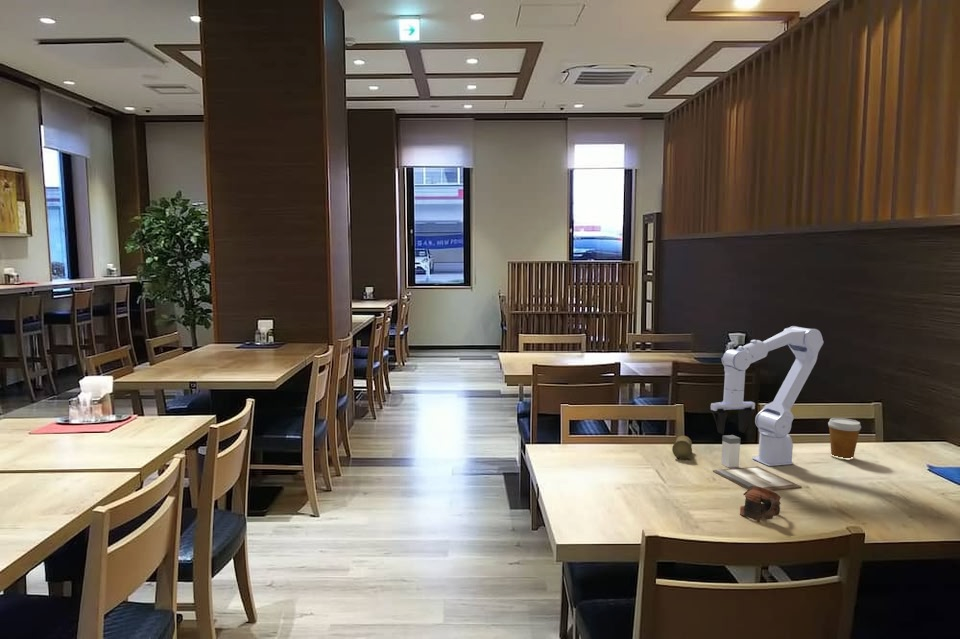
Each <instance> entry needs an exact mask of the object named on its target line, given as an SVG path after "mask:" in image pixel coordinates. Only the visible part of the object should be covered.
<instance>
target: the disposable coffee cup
mask: <svg viewBox="0 0 960 639" xmlns="http://www.w3.org/2000/svg"><path fill="white" fill-rule="evenodd" d="M827 425H828V428H829V441H830V444H829V445H830V455H831V454H832V455H834V456H838V457H843V458H851V457H853V458H854V457H855V454H856V447H857V443H858V439H859V434H860V431H861V429H862V426H861V422H860V421H858V420H856V419H850V418H844V417H832V418H830V419H829V421H828V422H827Z"/></svg>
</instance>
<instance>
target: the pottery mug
mask: <svg viewBox="0 0 960 639" xmlns="http://www.w3.org/2000/svg"><path fill="white" fill-rule="evenodd" d="M749 488H750V490H748V489H747V490H746V491H745V492H744V493H743V496H744V497H745V499H744V505H741V506H740V508H739V510H740V511H739V515H741V516H745V517H747V518H749V519H751V520H755V521H757V522H761V518H762V516H763V518H765V519H766V520H772V519H773V518H774V516H775V515H779V514H780V513H781V499H782V497H781V495H779V494H778V493H777V492H774V490H773V491H770V490H768V489H765V488H762V487H758V486H750V487H749Z"/></svg>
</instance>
